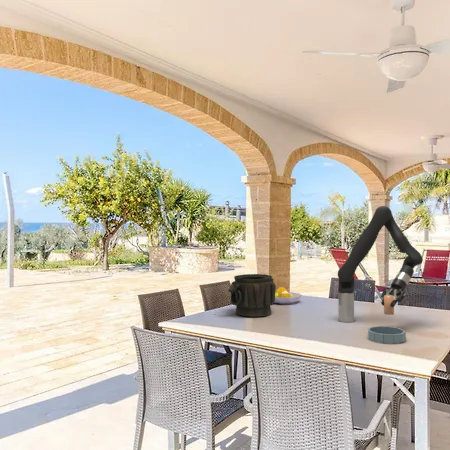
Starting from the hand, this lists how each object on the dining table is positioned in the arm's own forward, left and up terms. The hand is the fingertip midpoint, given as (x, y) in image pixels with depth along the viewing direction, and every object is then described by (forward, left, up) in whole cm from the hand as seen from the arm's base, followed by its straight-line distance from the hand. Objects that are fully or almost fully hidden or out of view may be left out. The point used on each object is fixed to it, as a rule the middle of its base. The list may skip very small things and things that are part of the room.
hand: (386, 305), depth 249 cm
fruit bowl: (-65, +79, -14) cm, 103 cm away
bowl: (-3, -17, -14) cm, 22 cm away
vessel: (-80, +35, -14) cm, 88 cm away
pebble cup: (+1, +1, -5) cm, 5 cm away
